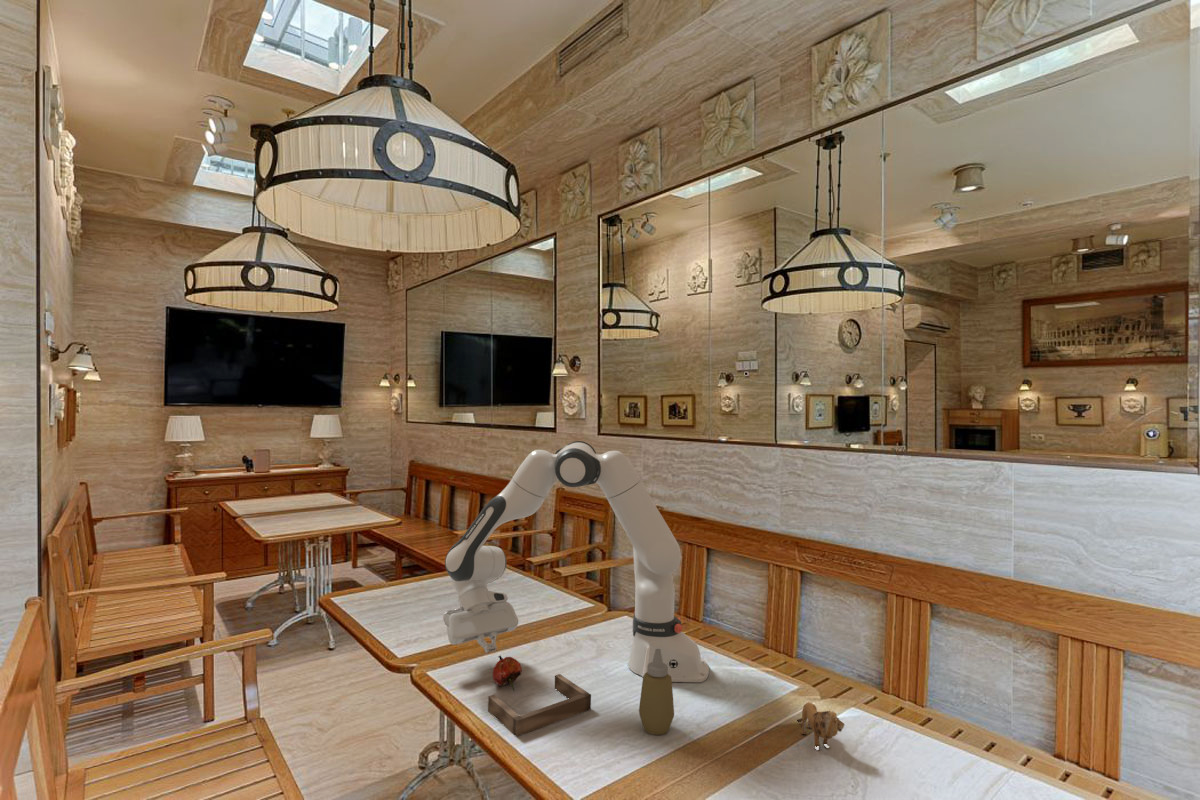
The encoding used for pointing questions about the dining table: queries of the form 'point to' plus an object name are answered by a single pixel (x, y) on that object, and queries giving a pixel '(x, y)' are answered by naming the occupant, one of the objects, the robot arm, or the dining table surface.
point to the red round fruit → (506, 671)
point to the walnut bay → (542, 709)
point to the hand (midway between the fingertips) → (491, 651)
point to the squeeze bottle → (656, 697)
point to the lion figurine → (820, 723)
